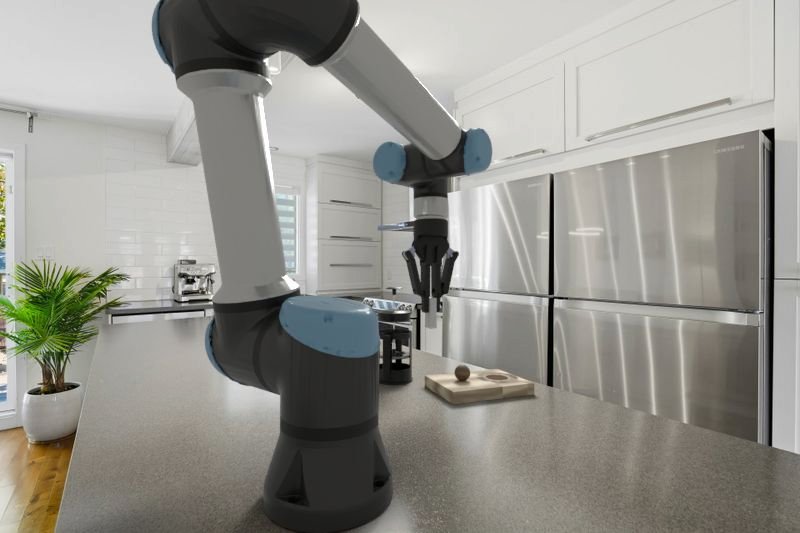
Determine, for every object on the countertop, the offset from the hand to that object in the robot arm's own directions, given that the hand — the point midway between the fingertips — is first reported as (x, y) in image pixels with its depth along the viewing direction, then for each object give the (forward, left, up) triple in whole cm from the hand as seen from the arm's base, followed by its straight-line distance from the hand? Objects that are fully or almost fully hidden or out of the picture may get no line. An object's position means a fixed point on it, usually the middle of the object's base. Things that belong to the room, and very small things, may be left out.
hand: (430, 327), depth 90 cm
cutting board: (0, -12, -15) cm, 19 cm away
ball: (0, -8, -10) cm, 13 cm away
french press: (+14, +3, -15) cm, 21 cm away
